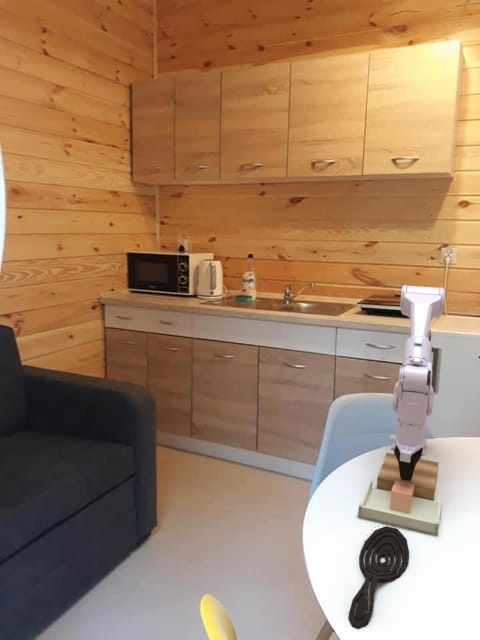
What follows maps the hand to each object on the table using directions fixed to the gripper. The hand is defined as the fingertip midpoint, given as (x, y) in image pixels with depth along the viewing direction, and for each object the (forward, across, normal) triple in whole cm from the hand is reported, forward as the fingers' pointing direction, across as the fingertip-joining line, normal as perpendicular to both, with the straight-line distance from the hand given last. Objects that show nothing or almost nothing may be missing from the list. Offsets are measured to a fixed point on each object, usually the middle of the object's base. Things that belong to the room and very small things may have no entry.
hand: (405, 479), depth 118 cm
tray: (+4, +7, 0) cm, 8 cm away
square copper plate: (+4, -7, 0) cm, 8 cm away
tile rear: (+3, +3, 0) cm, 4 cm away
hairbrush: (+4, +31, -1) cm, 31 cm away
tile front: (+1, +5, 0) cm, 5 cm away
